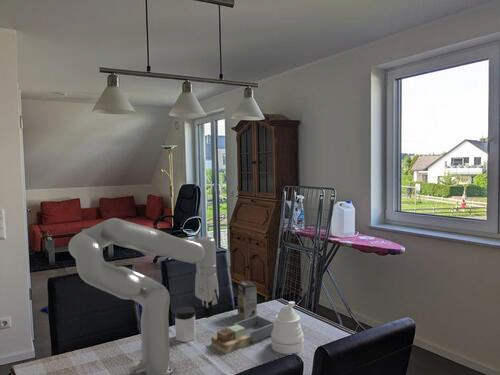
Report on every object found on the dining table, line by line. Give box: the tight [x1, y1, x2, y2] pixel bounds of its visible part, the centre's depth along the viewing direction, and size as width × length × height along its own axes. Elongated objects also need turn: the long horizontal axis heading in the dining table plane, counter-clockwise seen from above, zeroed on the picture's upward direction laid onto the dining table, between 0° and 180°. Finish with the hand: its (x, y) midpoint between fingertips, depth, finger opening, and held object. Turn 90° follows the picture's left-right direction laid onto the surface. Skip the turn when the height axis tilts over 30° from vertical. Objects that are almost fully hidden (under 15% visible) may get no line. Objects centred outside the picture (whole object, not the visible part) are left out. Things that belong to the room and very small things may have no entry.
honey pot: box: [270, 300, 305, 355], centre depth 157 cm, size 13×13×18 cm
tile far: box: [227, 324, 245, 339], centre depth 162 cm, size 5×5×3 cm
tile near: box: [216, 327, 235, 343], centre depth 158 cm, size 5×5×3 cm
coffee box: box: [236, 279, 258, 320], centre depth 189 cm, size 9×6×16 cm
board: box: [210, 334, 251, 354], centre depth 160 cm, size 12×10×3 cm
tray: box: [232, 314, 275, 345], centre depth 168 cm, size 14×12×5 cm
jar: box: [174, 306, 197, 343], centre depth 167 cm, size 9×8×12 cm
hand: (208, 316), depth 152 cm, fingers closed
